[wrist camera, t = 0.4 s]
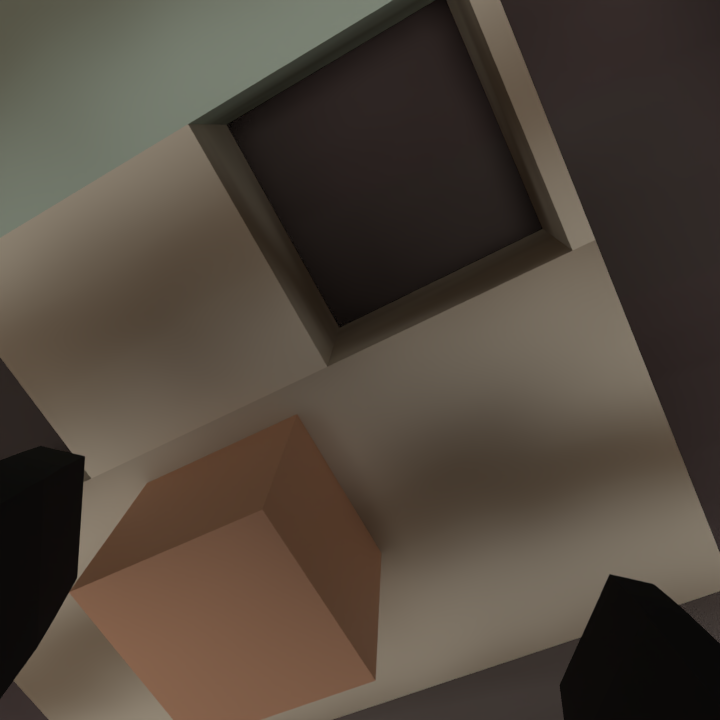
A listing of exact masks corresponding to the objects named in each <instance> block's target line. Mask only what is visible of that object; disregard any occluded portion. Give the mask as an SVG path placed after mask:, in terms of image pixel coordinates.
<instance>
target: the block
mask: <svg viewBox="0 0 720 720" xmlns="http://www.w3.org/2000/svg"><path fill="white" fill-rule="evenodd" d="M381 554H382V553H381V552H380V550H379V548H378V547H377V545H376V543H375V542H374V540H373V538H372V537H371V535H370V533H369V532H368V530H367V528H366V527H365V525H364V524H363V522H362V520H361V519H360V517H359V515H358V514H357V512H356V510H355V509H354V507H353V505H352V504H351V502H350V500H349V499H348V497H347V495H346V494H345V492H344V491H343V489H342V487H341V486H340V484H339V482H338V481H337V479H336V477H335V476H334V474H333V472H332V471H331V469H330V467H329V466H328V464H327V462H326V461H325V459H324V458H323V456H322V454H321V453H320V451H319V449H318V448H317V446H316V444H315V443H314V441H313V439H312V438H311V436H310V434H309V433H308V431H307V430H306V428H305V426H304V425H303V423H302V421H301V420H300V418H299V416H298V415H297V414H296V415H294V416H292V417H290V418H287V419H285V420H283V421H281V422H279V423H277V424H274V425H272V426H270V427H268V428H266V429H263V430H261V431H259V432H257V433H255V434H253V435H250V436H248V437H246V438H244V439H242V440H240V441H237V442H235V443H233V444H231V445H229V446H227V447H224V448H222V449H220V450H218V451H216V452H214V453H211V454H209V455H207V456H205V457H203V458H200V459H198V460H196V461H194V462H192V463H190V464H187V465H185V466H183V467H181V468H179V469H177V470H174V471H172V472H170V473H168V474H166V475H164V476H161V477H159V478H157V479H155V480H153V481H151V482H148V483H147V484H146V485H145V486H144V488H143V489H142V491H141V492H140V493H139V495H138V496H137V498H136V499H135V500H134V502H133V503H132V505H131V506H130V507H129V509H128V510H127V512H126V513H125V514H124V516H123V517H122V519H121V520H120V521H119V523H118V524H117V526H116V527H115V528H114V530H113V531H112V533H111V534H110V535H109V537H108V538H107V540H106V541H105V542H104V544H103V545H102V547H101V548H100V549H99V551H98V552H97V554H96V555H95V556H94V558H93V559H92V561H91V562H90V563H89V565H88V566H87V568H86V569H85V570H84V572H83V573H82V575H81V576H80V577H79V579H78V580H77V582H76V583H75V584H74V586H73V587H72V589H71V590H70V592H69V593H70V595H71V596H72V597H73V598H74V599H75V601H76V602H77V603H78V604H79V606H80V607H81V608H82V609H83V610H84V612H85V613H86V614H87V615H88V617H89V618H90V619H91V620H92V621H93V623H94V624H95V625H96V626H97V627H98V629H99V630H100V631H101V632H102V634H103V635H104V636H105V637H106V638H107V640H108V641H109V642H110V643H111V645H112V646H113V647H114V648H115V649H116V651H117V652H118V653H119V654H120V656H121V657H122V658H123V659H124V660H125V662H126V663H127V664H128V665H129V667H130V668H131V669H132V670H133V671H134V673H135V674H136V675H137V676H138V678H139V679H140V680H141V681H142V682H143V684H144V685H145V686H146V687H147V689H148V690H149V691H150V692H151V693H152V695H153V696H154V697H155V698H156V700H157V701H158V702H159V703H160V704H161V706H162V707H163V708H164V709H165V711H166V712H167V713H168V714H169V715H170V717H171V718H172V719H173V720H262V719H265V718H268V717H271V716H273V715H276V714H279V713H282V712H285V711H288V710H291V709H294V708H297V707H300V706H303V705H306V704H309V703H312V702H314V701H317V700H320V699H323V698H326V697H329V696H332V695H335V694H338V693H341V692H344V691H347V690H350V689H353V688H355V687H358V686H361V685H364V684H367V683H370V682H373V681H376V662H377V640H378V619H379V597H380V576H381Z"/></svg>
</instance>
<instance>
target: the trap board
mask: <svg viewBox="0 0 720 720" xmlns="http://www.w3.org/2000/svg"><path fill="white" fill-rule="evenodd" d="M433 1H435V0H0V358H1V359H2V360H3V362H4V363H5V364H6V366H7V367H8V368H9V370H10V371H11V372H12V374H13V375H14V376H15V378H16V379H17V380H18V382H19V383H20V384H21V386H22V387H23V388H24V390H25V391H26V392H27V394H28V395H29V396H30V398H31V399H32V400H33V402H34V403H35V404H36V406H37V407H38V408H39V410H40V411H41V412H42V414H43V415H44V416H45V418H46V419H47V420H48V422H49V423H50V424H51V426H52V427H53V428H54V430H55V431H56V432H57V434H58V435H59V436H60V438H61V439H62V440H63V442H64V443H65V444H66V445H67V447H68V448H69V449H70V451H71V452H72V453H73V454H78V455H82V456H85V466H84V482H83V497H82V513H81V528H80V544H79V559H78V575H77V579H76V581H75V583H76V582H77V580H78V579H79V577H80V576H81V575H82V573H83V572H84V570H85V569H86V568H87V566H88V565H89V563H90V562H91V561H92V559H93V558H94V556H95V555H96V554H97V552H98V551H99V549H100V548H101V547H102V545H103V544H104V542H105V541H106V540H107V538H108V537H109V535H110V534H111V533H112V531H113V530H114V528H115V527H116V526H117V524H118V523H119V521H120V520H121V519H122V517H123V516H124V514H125V513H126V512H127V510H128V509H129V507H130V506H131V505H132V503H133V502H134V500H135V499H136V498H137V496H138V495H139V493H140V492H141V491H142V489H143V488H144V486H145V485H146V484H147V483H148V482H151V481H153V480H155V479H157V478H159V477H161V476H164V475H166V474H168V473H170V472H172V471H174V470H177V469H179V468H181V467H183V466H185V465H187V464H190V463H192V462H194V461H196V460H198V459H200V458H203V457H205V456H207V455H209V454H211V453H214V452H216V451H218V450H220V449H222V448H224V447H227V446H229V445H231V444H233V443H235V442H237V441H240V440H242V439H244V438H246V437H248V436H250V435H253V434H255V433H257V432H259V431H261V430H263V429H266V428H268V427H270V426H272V425H274V424H277V423H279V422H281V421H283V420H285V419H287V418H290V417H292V416H294V415H296V414H297V415H298V416H299V418H300V420H301V421H302V423H303V425H304V426H305V428H306V430H307V431H308V433H309V434H310V436H311V438H312V439H313V441H314V443H315V444H316V446H317V448H318V449H319V451H320V453H321V454H322V456H323V458H324V459H325V461H326V462H327V464H328V466H329V467H330V469H331V471H332V472H333V474H334V476H335V477H336V479H337V481H338V482H339V484H340V486H341V487H342V489H343V491H344V492H345V494H346V495H347V497H348V499H349V500H350V502H351V504H352V505H353V507H354V509H355V510H356V512H357V514H358V515H359V517H360V519H361V520H362V522H363V524H364V525H365V527H366V528H367V530H368V532H369V533H370V535H371V537H372V538H373V540H374V542H375V543H376V545H377V547H378V548H379V550H380V552H381V553H382V554H381V576H380V597H379V619H378V640H377V662H376V681H373V682H370V683H367V684H364V685H361V686H358V687H355V688H353V689H350V690H347V691H344V692H341V693H338V694H335V695H332V696H329V697H326V698H323V699H320V700H317V701H314V702H312V703H309V704H306V705H303V706H300V707H297V708H294V709H291V710H288V711H285V712H282V713H279V714H276V715H273V716H271V717H268V718H265V719H262V720H333V719H336V718H339V717H342V716H345V715H348V714H351V713H354V712H357V711H360V710H363V709H366V708H369V707H372V706H375V705H378V704H381V703H384V702H387V701H390V700H393V699H396V698H399V697H402V696H405V695H408V694H411V693H414V692H417V691H420V690H423V689H426V688H429V687H432V686H435V685H438V684H441V683H444V682H447V681H450V680H453V679H456V678H459V677H462V676H465V675H468V674H471V673H474V672H478V671H481V670H484V669H487V668H490V667H493V666H496V665H499V664H502V663H505V662H508V661H511V660H514V659H517V658H520V657H523V656H526V655H529V654H532V653H535V652H538V651H541V650H544V649H547V648H550V647H553V646H556V645H559V644H562V643H565V642H568V641H571V640H574V639H577V638H580V637H582V634H583V632H584V630H585V628H586V625H587V623H588V621H589V619H590V617H591V614H592V612H593V610H594V608H595V605H596V603H597V601H598V599H599V597H600V594H601V592H602V590H603V588H604V585H605V583H606V581H607V579H608V576H609V574H611V575H616V576H620V577H625V578H629V579H634V580H638V581H643V582H647V583H652V584H654V585H656V586H657V587H658V588H659V589H660V590H662V591H663V592H664V593H665V594H666V595H668V596H669V597H670V598H671V599H672V600H673V601H674V602H676V603H677V604H678V605H680V604H683V603H686V602H689V601H692V600H695V599H698V598H701V597H704V596H707V595H710V594H713V593H716V592H719V591H720V552H719V550H718V547H717V545H716V542H715V540H714V537H713V535H712V532H711V530H710V527H709V525H708V522H707V520H706V517H705V514H704V512H703V509H702V507H701V504H700V502H699V499H698V497H697V494H696V492H695V489H694V487H693V484H692V482H691V479H690V477H689V474H688V472H687V469H686V467H685V464H684V462H683V459H682V457H681V454H680V452H679V449H678V447H677V444H676V442H675V439H674V437H673V434H672V432H671V429H670V426H669V424H668V421H667V419H666V416H665V414H664V411H663V409H662V406H661V404H660V401H659V399H658V396H657V394H656V391H655V389H654V386H653V384H652V381H651V379H650V376H649V374H648V371H647V369H646V366H645V364H644V361H643V359H642V356H641V354H640V351H639V349H638V346H637V343H636V341H635V338H634V336H633V333H632V331H631V328H630V326H629V323H628V321H627V318H626V316H625V313H624V311H623V308H622V306H621V303H620V301H619V298H618V296H617V293H616V291H615V288H614V286H613V283H612V281H611V278H610V276H609V273H608V271H607V268H606V266H605V263H604V261H603V258H602V255H601V253H600V250H599V248H598V245H597V243H596V240H595V238H594V235H593V233H592V230H591V228H590V225H589V223H588V220H587V218H586V215H585V213H584V210H583V208H582V205H581V203H580V200H579V198H578V195H577V193H576V190H575V188H574V185H573V183H572V180H571V178H570V175H569V172H568V170H567V167H566V165H565V162H564V160H563V157H562V155H561V152H560V150H559V147H558V145H557V142H556V140H555V137H554V135H553V132H552V130H551V127H550V125H549V122H548V120H547V117H546V115H545V112H544V110H543V107H542V105H541V102H540V100H539V97H538V95H537V92H536V90H535V87H534V84H533V82H532V79H531V77H530V74H529V72H528V69H527V67H526V64H525V62H524V59H523V57H522V54H521V52H520V49H519V47H518V44H517V42H516V39H515V37H514V34H513V32H512V29H511V27H510V24H509V22H508V19H507V17H506V14H505V12H504V9H503V7H502V4H501V1H500V0H446V1H447V4H448V6H449V8H450V11H451V13H452V15H453V18H454V20H455V23H456V25H457V27H458V30H459V32H460V34H461V37H462V39H463V42H464V44H465V46H466V49H467V51H468V53H469V56H470V58H471V60H472V63H473V65H474V68H475V70H476V72H477V75H478V77H479V79H480V82H481V84H482V87H483V89H484V91H485V94H486V96H487V98H488V101H489V103H490V105H491V108H492V110H493V113H494V115H495V117H496V120H497V122H498V124H499V127H500V129H501V131H502V134H503V136H504V139H505V141H506V143H507V146H508V148H509V150H510V153H511V155H512V158H513V160H514V162H515V165H516V167H517V169H518V172H519V174H520V176H521V179H522V181H523V184H524V186H525V188H526V191H527V193H528V195H529V198H530V200H531V202H532V205H533V207H534V210H535V212H536V214H537V217H538V219H539V221H540V224H541V226H542V229H541V230H539V231H537V232H535V233H533V234H531V235H529V236H527V237H525V238H523V239H521V240H519V241H517V242H515V243H513V244H510V245H508V246H506V247H504V248H502V249H500V250H498V251H496V252H494V253H492V254H490V255H488V256H486V257H484V258H482V259H480V260H478V261H476V262H474V263H471V264H469V265H467V266H465V267H463V268H461V269H459V270H457V271H455V272H453V273H451V274H449V275H447V276H445V277H443V278H441V279H439V280H437V281H434V282H432V283H430V284H428V285H426V286H424V287H422V288H420V289H418V290H416V291H414V292H412V293H410V294H408V295H406V296H404V297H402V298H400V299H398V300H395V301H393V302H391V303H389V304H387V305H385V306H383V307H381V308H379V309H377V310H375V311H373V312H371V313H369V314H367V315H365V316H363V317H361V318H359V319H356V320H354V321H352V322H350V323H348V324H346V325H344V326H342V327H340V328H339V326H338V325H337V323H336V321H335V319H334V317H333V316H332V314H331V312H330V310H329V308H328V307H327V305H326V303H325V301H324V299H323V298H322V296H321V294H320V292H319V290H318V289H317V287H316V285H315V283H314V281H313V280H312V278H311V276H310V274H309V272H308V271H307V269H306V267H305V265H304V263H303V262H302V260H301V258H300V256H299V254H298V253H297V251H296V249H295V247H294V245H293V244H292V242H291V240H290V238H289V236H288V235H287V233H286V231H285V229H284V227H283V226H282V224H281V222H280V220H279V218H278V217H277V215H276V213H275V211H274V209H273V208H272V206H271V204H270V202H269V200H268V199H267V197H266V195H265V193H264V191H263V190H262V188H261V186H260V184H259V182H258V181H257V179H256V177H255V175H254V173H253V172H252V170H251V168H250V166H249V164H248V163H247V161H246V159H245V157H244V155H243V154H242V152H241V150H240V148H239V146H238V145H237V143H236V141H235V139H234V137H233V136H232V134H231V132H230V130H229V128H228V127H227V124H228V123H230V122H232V121H233V120H235V119H237V118H238V117H240V116H242V115H243V114H245V113H247V112H248V111H250V110H252V109H253V108H255V107H257V106H258V105H260V104H262V103H264V102H265V101H267V100H269V99H270V98H272V97H274V96H275V95H277V94H279V93H280V92H282V91H284V90H285V89H287V88H289V87H290V86H292V85H294V84H295V83H297V82H299V81H301V80H302V79H304V78H306V77H307V76H309V75H311V74H312V73H314V72H316V71H317V70H319V69H321V68H322V67H324V66H326V65H327V64H329V63H331V62H332V61H334V60H336V59H337V58H339V57H341V56H343V55H344V54H346V53H348V52H349V51H351V50H353V49H354V48H356V47H358V46H359V45H361V44H363V43H364V42H366V41H368V40H369V39H371V38H373V37H374V36H376V35H378V34H379V33H381V32H383V31H385V30H386V29H388V28H390V27H391V26H393V25H395V24H396V23H398V22H400V21H401V20H403V19H405V18H406V17H408V16H410V15H411V14H413V13H415V12H416V11H418V10H420V9H422V8H423V7H425V6H427V5H428V4H430V3H432V2H433ZM75 583H74V584H75ZM73 586H74V585H73ZM73 586H72V587H73ZM71 589H72V588H71ZM13 681H14V682H15V683H16V684H17V685H18V686H19V687H20V688H21V689H22V690H23V692H24V693H25V694H26V695H27V696H28V697H29V698H30V699H31V700H32V702H33V703H34V704H35V705H36V706H37V707H38V708H39V709H40V710H41V711H42V713H43V714H44V715H45V716H46V717H47V718H48V719H49V720H173V719H172V718H171V717H170V715H169V714H168V713H167V712H166V711H165V709H164V708H163V707H162V706H161V704H160V703H159V702H158V701H157V700H156V698H155V697H154V696H153V695H152V693H151V692H150V691H149V690H148V689H147V687H146V686H145V685H144V684H143V682H142V681H141V680H140V679H139V678H138V676H137V675H136V674H135V673H134V671H133V670H132V669H131V668H130V667H129V665H128V664H127V663H126V662H125V660H124V659H123V658H122V657H121V656H120V654H119V653H118V652H117V651H116V649H115V648H114V647H113V646H112V645H111V643H110V642H109V641H108V640H107V638H106V637H105V636H104V635H103V634H102V632H101V631H100V630H99V629H98V627H97V626H96V625H95V624H94V623H93V621H92V620H91V619H90V618H89V617H88V615H87V614H86V613H85V612H84V610H83V609H82V608H81V607H80V606H79V604H78V603H77V602H76V601H75V599H74V598H73V597H72V596H71V595H70V593H69V594H68V595H67V597H66V599H65V601H64V603H63V604H62V606H61V608H60V610H59V612H58V613H57V615H56V617H55V619H54V620H53V622H52V624H51V625H50V627H49V629H48V630H47V632H46V634H45V635H44V637H43V639H42V640H41V642H40V644H39V646H38V647H37V649H36V650H35V652H34V653H33V654H32V656H31V657H30V658H29V660H28V661H27V663H26V664H25V665H24V667H23V668H22V670H21V671H20V672H19V674H18V675H17V676H16V678H15V679H14V680H13Z"/></svg>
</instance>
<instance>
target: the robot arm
mask: <svg viewBox="0 0 720 720" xmlns="http://www.w3.org/2000/svg"><path fill="white" fill-rule="evenodd" d="M84 466H85V456H82V455H78V454H73V453H69V452H64V451H60V450H55V449H51V448H47V447H42V446H40V447H37V448H33V449H30V450H27V451H24V452H22V453H19V454H16V455H13V456H11V457H8V458H6V459H3V460H0V698H1V697H2V695H3V694H4V693H5V691H6V690H7V689H8V687H9V686H10V685H11V683H12V682H13V680H14V679H15V678H16V676H17V675H18V674H19V672H20V671H21V670H22V668H23V667H24V665H25V664H26V663H27V661H28V660H29V658H30V657H31V656H32V654H33V653H34V652H35V650H36V649H37V647H38V646H39V644H40V642H41V640H42V639H43V637H44V635H45V634H46V632H47V630H48V629H49V627H50V625H51V624H52V622H53V620H54V619H55V617H56V615H57V613H58V612H59V610H60V608H61V606H62V604H63V603H64V601H65V599H66V597H67V595H68V594H69V592H70V590H71V588H72V586H73V585H74V583H75V581H76V579H77V575H78V559H79V544H80V528H81V513H82V497H83V482H84ZM560 691H561V699H562V707H563V714H564V720H720V643H718V642H717V641H716V640H715V639H714V638H713V637H712V636H711V635H710V634H709V633H708V632H707V631H706V630H705V629H704V628H703V627H702V626H701V625H700V624H698V623H697V622H696V621H695V620H694V619H693V618H692V617H691V616H690V615H689V614H688V613H687V612H686V611H684V610H683V609H682V608H681V607H680V606H679V605H678V604H677V603H676V602H674V601H673V600H672V599H671V598H670V597H669V596H668V595H666V594H665V593H664V592H663V591H662V590H660V589H659V588H658V587H657V586H656V585H654V584H652V583H647V582H643V581H638V580H634V579H629V578H625V577H620V576H616V575H611V574H609V576H608V579H607V581H606V583H605V585H604V588H603V590H602V592H601V594H600V597H599V599H598V601H597V603H596V605H595V608H594V610H593V612H592V614H591V617H590V619H589V621H588V623H587V625H586V628H585V630H584V632H583V634H582V637H581V639H580V641H579V643H578V646H577V648H576V650H575V652H574V654H573V657H572V659H571V661H570V663H569V666H568V668H567V670H566V672H565V675H564V677H563V679H562V681H561V683H560Z"/></svg>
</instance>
